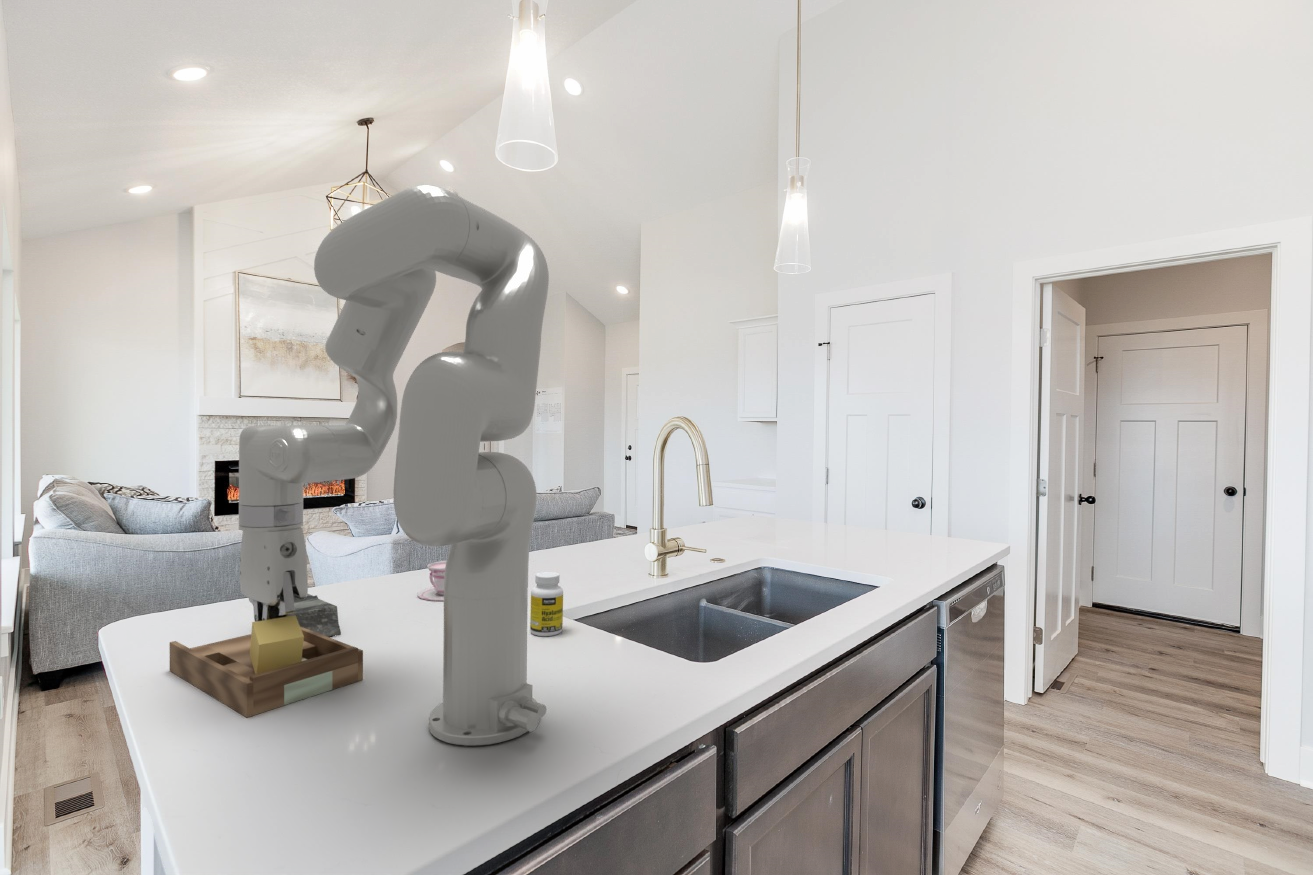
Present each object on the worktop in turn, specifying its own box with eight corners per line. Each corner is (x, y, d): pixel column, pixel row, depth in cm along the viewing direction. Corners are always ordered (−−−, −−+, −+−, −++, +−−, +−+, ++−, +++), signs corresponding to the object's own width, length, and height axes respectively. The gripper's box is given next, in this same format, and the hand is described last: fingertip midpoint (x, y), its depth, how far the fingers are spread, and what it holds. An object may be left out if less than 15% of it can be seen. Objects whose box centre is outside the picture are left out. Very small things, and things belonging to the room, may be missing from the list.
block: (300, 668, 85) (303, 636, 84) (256, 678, 82) (259, 644, 80) (292, 646, 88) (295, 615, 87) (249, 654, 85) (252, 622, 84)
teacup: (446, 584, 141) (446, 556, 141) (490, 591, 136) (490, 561, 136) (403, 597, 130) (404, 566, 130) (450, 605, 125) (450, 573, 125)
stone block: (314, 617, 117) (315, 588, 117) (346, 636, 107) (346, 604, 107) (258, 627, 110) (258, 597, 110) (286, 648, 100) (286, 614, 100)
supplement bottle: (540, 639, 106) (540, 579, 105) (524, 630, 110) (525, 573, 110) (568, 632, 109) (569, 575, 109) (552, 624, 113) (552, 569, 113)
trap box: (362, 679, 88) (363, 646, 88) (246, 717, 76) (246, 679, 76) (278, 643, 102) (278, 614, 102) (169, 670, 90) (169, 638, 90)
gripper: (327, 519, 86) (326, 655, 87) (275, 508, 95) (274, 633, 95) (267, 525, 80) (266, 672, 81) (217, 514, 89) (216, 646, 89)
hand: (270, 650), depth 88 cm, fingers closed
